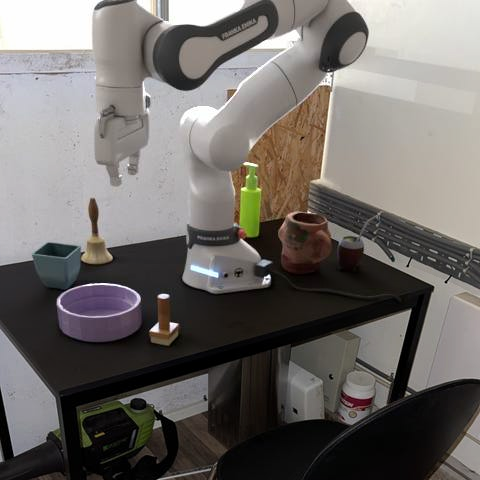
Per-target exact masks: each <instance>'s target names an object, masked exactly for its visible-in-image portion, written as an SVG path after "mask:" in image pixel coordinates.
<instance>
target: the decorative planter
mask: <svg viewBox="0 0 480 480" xmlns="http://www.w3.org/2000/svg"><path fill="white" fill-rule="evenodd" d="M277 232H278V233H277V234H278V235H277V236H278V238H279V240H280V241H281V243H282V250H281V256H280V261H281V262H280V263H281V266H282V269H284V270H285V271H287V272H288V273H291V274H295V275H303V274H304V275H305V274H310V273H313V272H315V271H318V269H319V267H320V264H321V262H322V261H323V260H324V259H326V258H328V257H329V256H330V254H331V252H332V250H333V249H332V248H333V246H332V235H331V231H330V229H329V223H328V219H327V218H326V217H325V216H324V215H323V214H321V213H315V212H305V211H294V212H290V213H288V214H287V215H286V217H285V219H284V221H283V223H282V225H281V226H280V228H279V229H278V231H277Z"/></svg>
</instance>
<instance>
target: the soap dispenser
mask: <svg viewBox="0 0 480 480" xmlns="http://www.w3.org/2000/svg"><path fill="white" fill-rule="evenodd" d="M241 167H246V168H248V175H246V176H245V186H244V187H242V188H240V205H239V207H240V208H239V211H240V212H239V226H241V228H242V229H244V230H245V232H246V233H247V235H246V236H247V237H246V238H257V237H258V236H259V235H260V234H259V233H260V219H261V218H260V217H261V202H262V188H259V187H258V181H259V179H258V178H259V177H258V176H257V175H256V169H259V165H258V164H256V163H251V162H245V163H244V164H243V165H242V166H241Z"/></svg>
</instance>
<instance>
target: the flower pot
mask: <svg viewBox="0 0 480 480" xmlns="http://www.w3.org/2000/svg"><path fill="white" fill-rule="evenodd" d="M31 257H32V261H33V264H34V267H35V270H36V271H35V272H36V273H37V275H38V277H39V279H40V281H41V282H42V283H43V284H44V285H45V286H46V287H47V288H50V289H51V288H52V289H59V290H69V289H70V287H71V286H72V285H73V284H74V283H75V282H76V280H77V277H78V275H79V272H80V269H81V262H82V260H81V257H82V247H81V245H78V244H68V243H60V242H54V241H46V242H45V243H44V244H42V245H41V246H40V247H38V248H37V249H36V250H34V251H33V252H32V253H31Z"/></svg>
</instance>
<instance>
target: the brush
mask: <svg viewBox="0 0 480 480" xmlns="http://www.w3.org/2000/svg"><path fill="white" fill-rule="evenodd" d="M170 311H171V306H170V294H166V293H160V294H158V295H157V320H158V321H157V323H156V324H155V325H154V326H153V327H152V328H151V329H150V330H149V331H148V333H149V337H150V343H153V344H157V345H162V346H170V345H171V344H172V342H173V341H175V339H176V338H177V337H179V330H180V323H176V322H171V312H170Z"/></svg>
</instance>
